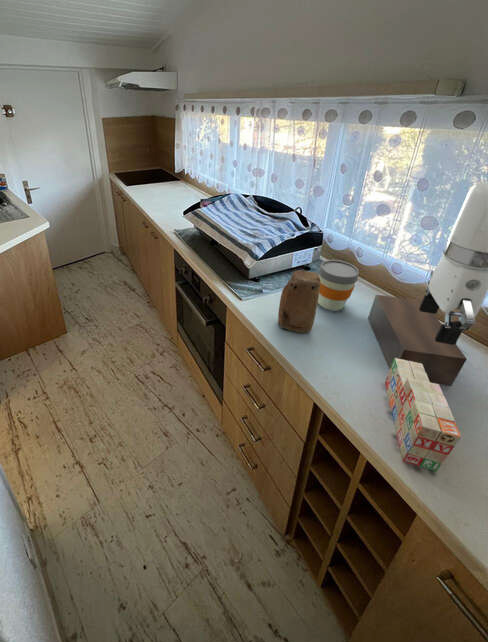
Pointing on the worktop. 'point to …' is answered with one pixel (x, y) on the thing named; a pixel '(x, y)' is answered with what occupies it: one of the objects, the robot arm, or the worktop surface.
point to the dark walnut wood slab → (414, 338)
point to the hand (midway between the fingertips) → (435, 326)
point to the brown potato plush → (299, 301)
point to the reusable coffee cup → (336, 283)
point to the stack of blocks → (420, 415)
